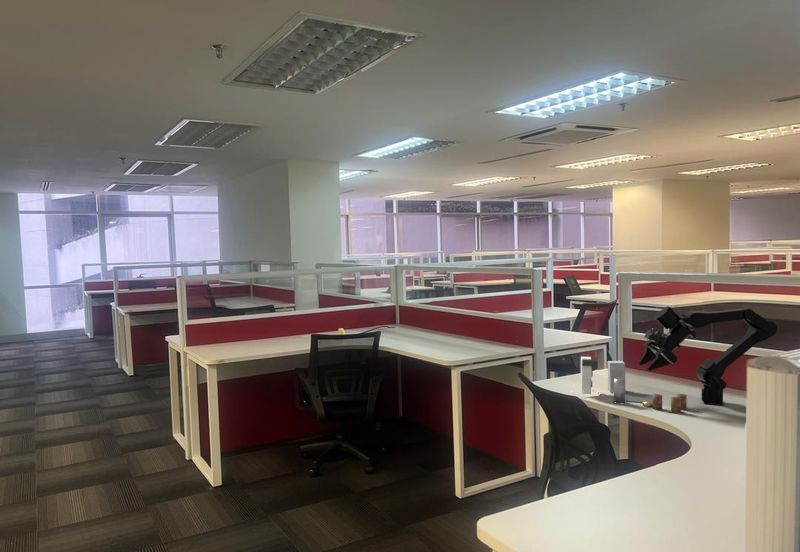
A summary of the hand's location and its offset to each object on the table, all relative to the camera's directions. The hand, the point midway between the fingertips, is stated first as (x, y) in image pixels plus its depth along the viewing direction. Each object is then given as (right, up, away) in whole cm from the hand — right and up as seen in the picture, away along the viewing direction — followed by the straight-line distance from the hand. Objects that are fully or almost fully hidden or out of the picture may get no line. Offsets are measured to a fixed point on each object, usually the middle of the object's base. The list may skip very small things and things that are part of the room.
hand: (643, 367), depth 215 cm
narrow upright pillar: (-17, -13, +15) cm, 26 cm away
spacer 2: (+6, -14, -12) cm, 19 cm away
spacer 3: (+10, -14, -8) cm, 19 cm away
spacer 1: (+2, -14, -7) cm, 16 cm away
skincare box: (-4, -13, +18) cm, 22 cm away
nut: (0, -14, -3) cm, 14 cm away
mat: (0, -13, +6) cm, 15 cm away
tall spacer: (-9, -14, +1) cm, 16 cm away
